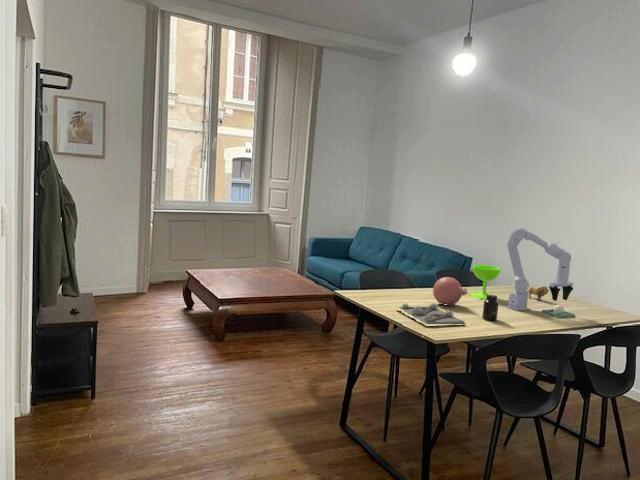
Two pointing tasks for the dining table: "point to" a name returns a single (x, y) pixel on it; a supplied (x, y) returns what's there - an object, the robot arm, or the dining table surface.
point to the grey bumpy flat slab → (431, 314)
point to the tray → (563, 315)
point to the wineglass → (484, 277)
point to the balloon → (448, 291)
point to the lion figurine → (538, 292)
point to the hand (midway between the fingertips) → (559, 300)
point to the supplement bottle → (490, 308)
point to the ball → (558, 309)
